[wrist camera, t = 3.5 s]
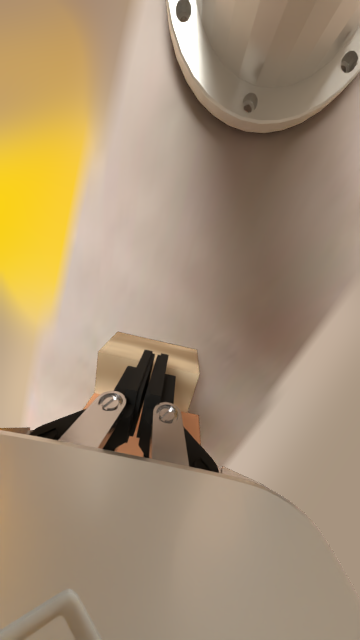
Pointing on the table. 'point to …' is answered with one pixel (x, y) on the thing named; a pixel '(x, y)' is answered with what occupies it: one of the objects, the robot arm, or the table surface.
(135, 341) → the sheet
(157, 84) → the table surface
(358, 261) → the table surface
